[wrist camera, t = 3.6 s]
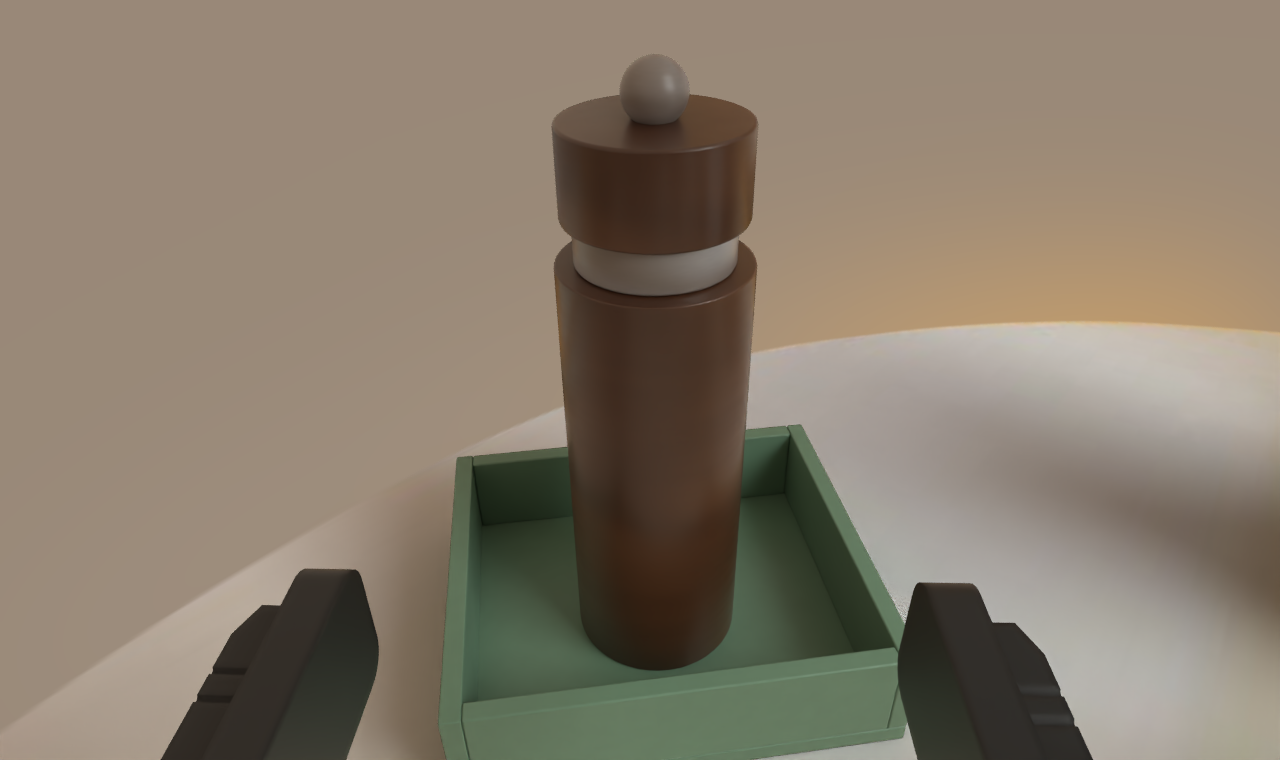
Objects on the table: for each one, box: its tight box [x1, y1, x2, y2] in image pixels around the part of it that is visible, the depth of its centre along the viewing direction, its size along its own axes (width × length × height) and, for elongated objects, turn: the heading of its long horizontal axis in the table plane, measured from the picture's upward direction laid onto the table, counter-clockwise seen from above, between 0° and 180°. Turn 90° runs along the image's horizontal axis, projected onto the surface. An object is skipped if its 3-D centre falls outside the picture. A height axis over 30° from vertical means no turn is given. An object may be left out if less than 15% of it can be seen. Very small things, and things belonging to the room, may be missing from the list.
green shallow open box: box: [438, 424, 907, 760], centre depth 28 cm, size 13×11×4 cm
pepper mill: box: [552, 54, 758, 671], centre depth 23 cm, size 5×5×18 cm
